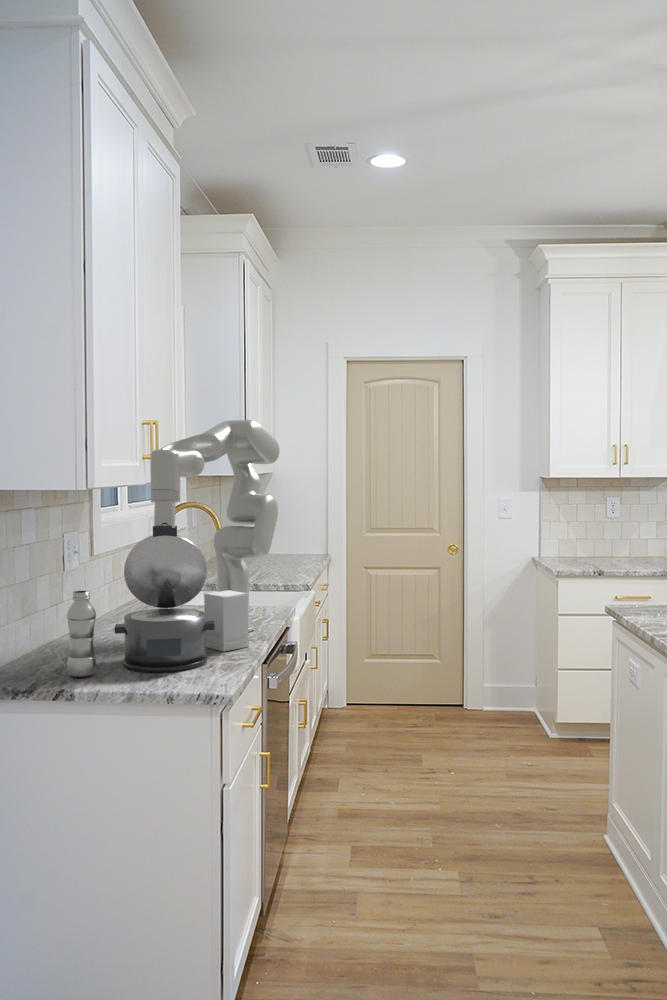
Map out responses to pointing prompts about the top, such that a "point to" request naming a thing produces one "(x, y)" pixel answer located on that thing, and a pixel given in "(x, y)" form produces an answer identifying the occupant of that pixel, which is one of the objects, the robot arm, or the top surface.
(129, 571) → the lid
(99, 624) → the top surface
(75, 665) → the plastic bottle
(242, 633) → the supplement box
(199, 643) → the pressure cooker
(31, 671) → the top surface
